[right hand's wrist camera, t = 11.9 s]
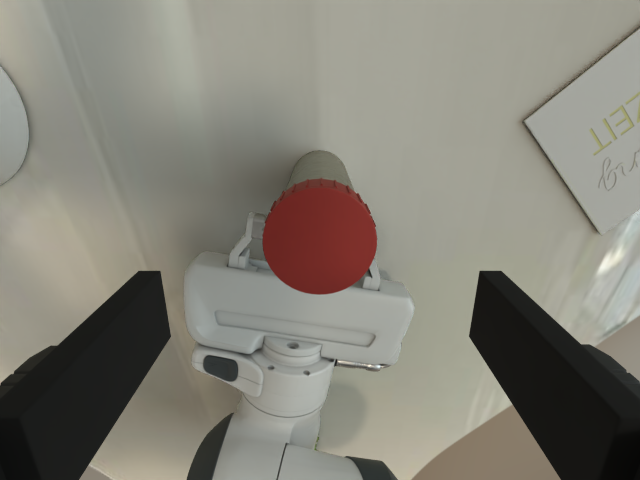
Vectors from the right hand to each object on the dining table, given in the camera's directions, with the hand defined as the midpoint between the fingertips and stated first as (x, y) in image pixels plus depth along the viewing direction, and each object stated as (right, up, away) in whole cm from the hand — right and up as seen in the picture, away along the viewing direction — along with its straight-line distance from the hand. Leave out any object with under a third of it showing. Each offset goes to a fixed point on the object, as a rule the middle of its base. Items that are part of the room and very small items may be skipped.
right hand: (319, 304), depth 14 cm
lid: (0, +2, +6) cm, 7 cm away
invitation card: (+32, +15, +21) cm, 41 cm away
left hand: (0, +4, +18) cm, 18 cm away
